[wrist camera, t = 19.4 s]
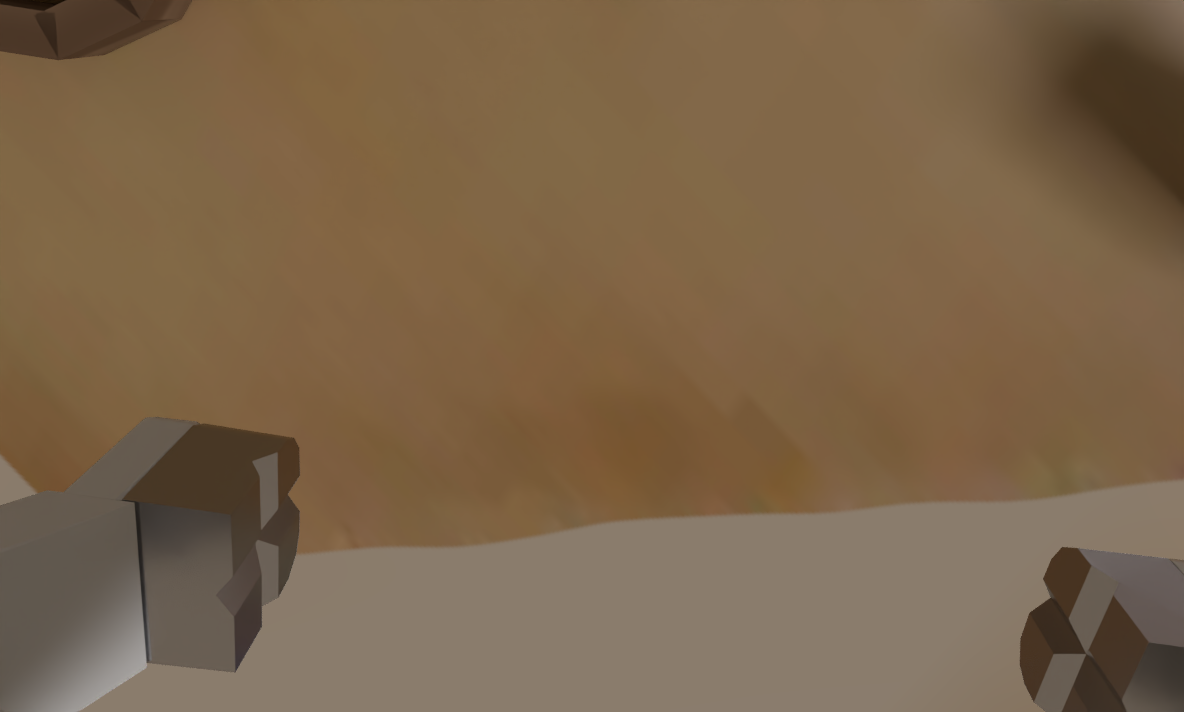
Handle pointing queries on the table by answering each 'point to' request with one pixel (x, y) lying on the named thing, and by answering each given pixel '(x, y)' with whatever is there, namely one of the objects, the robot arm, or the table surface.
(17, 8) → the walnut ring
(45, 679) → the robot arm
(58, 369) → the table surface
